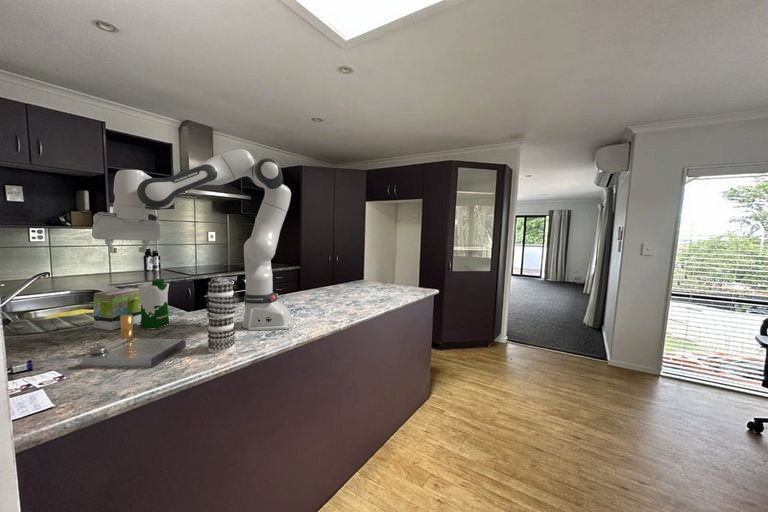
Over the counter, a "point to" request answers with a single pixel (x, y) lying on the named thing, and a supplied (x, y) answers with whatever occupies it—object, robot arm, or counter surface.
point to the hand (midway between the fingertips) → (128, 252)
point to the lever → (126, 335)
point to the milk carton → (154, 304)
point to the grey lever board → (136, 353)
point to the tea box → (116, 307)
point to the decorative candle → (220, 315)
